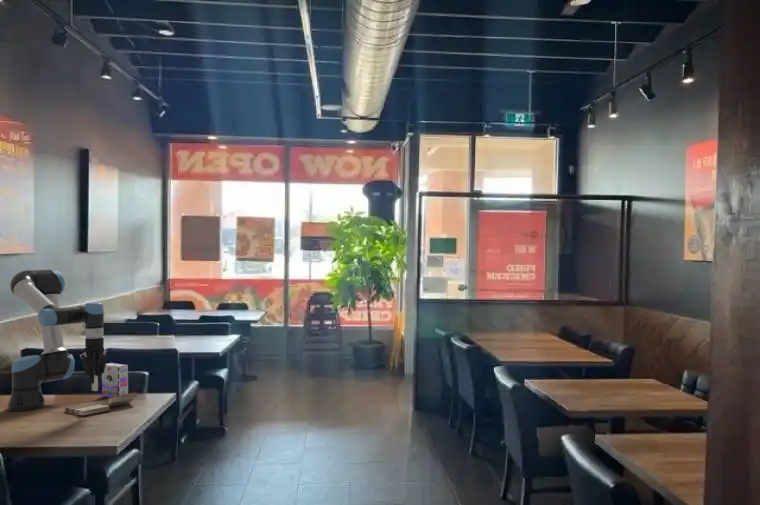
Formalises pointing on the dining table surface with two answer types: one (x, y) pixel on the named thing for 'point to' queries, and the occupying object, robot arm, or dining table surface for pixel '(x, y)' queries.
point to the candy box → (115, 380)
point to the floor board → (72, 408)
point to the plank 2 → (120, 399)
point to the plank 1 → (92, 409)
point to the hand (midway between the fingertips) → (94, 390)
